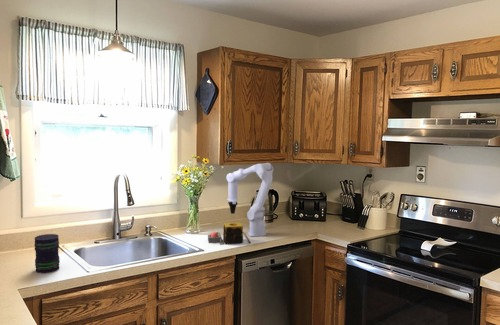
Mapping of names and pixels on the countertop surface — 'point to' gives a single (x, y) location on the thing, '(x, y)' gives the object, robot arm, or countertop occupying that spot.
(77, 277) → the countertop surface
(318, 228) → the countertop surface
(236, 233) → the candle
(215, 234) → the dome
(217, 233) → the track
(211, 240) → the button box
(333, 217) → the countertop surface
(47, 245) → the storage jar
